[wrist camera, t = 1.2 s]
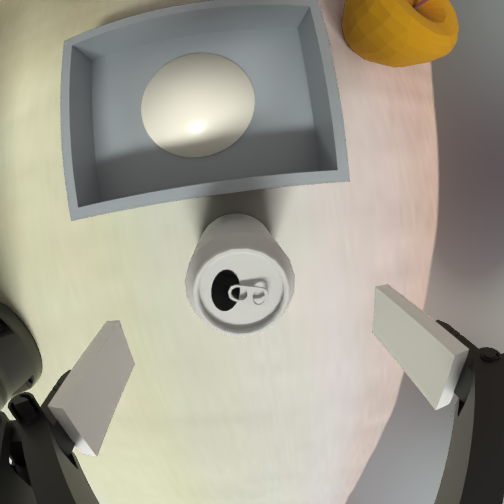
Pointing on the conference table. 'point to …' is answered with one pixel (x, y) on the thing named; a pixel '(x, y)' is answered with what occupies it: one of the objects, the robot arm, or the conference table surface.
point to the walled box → (199, 105)
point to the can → (239, 277)
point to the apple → (400, 30)
